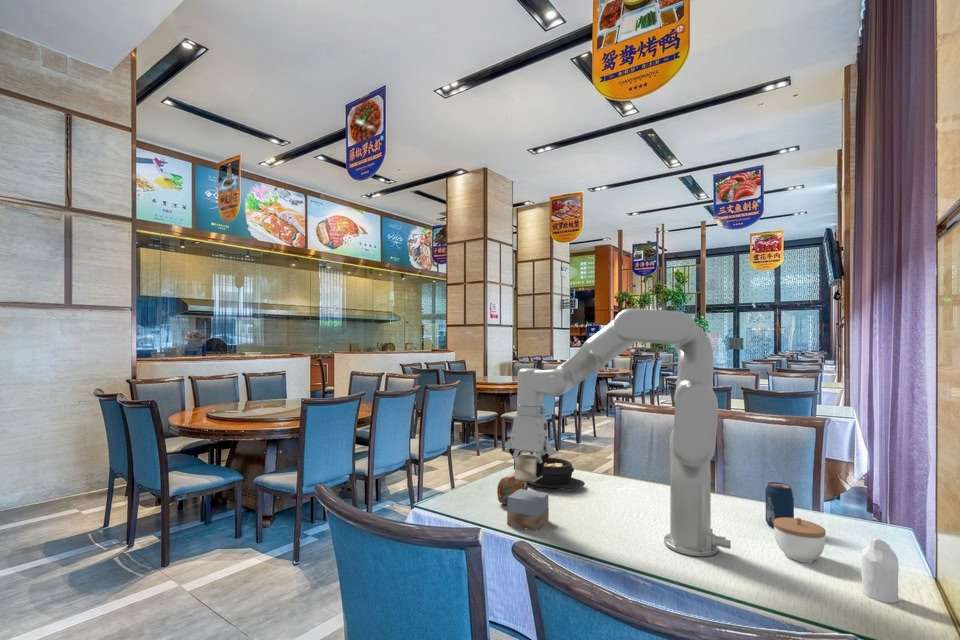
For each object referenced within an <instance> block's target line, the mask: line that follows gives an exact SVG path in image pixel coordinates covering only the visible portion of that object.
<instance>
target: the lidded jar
mask: <svg viewBox="0 0 960 640" xmlns="http://www.w3.org/2000/svg"><path fill="white" fill-rule="evenodd" d="M773 531H774V533H773V534H774V538H775V542H776V544H777V546H778V547H779V549H780V551H782V552H783V553H784V556H785V557H787V558H789V559H790V560H793V561H796V562H800V563H801V562H802V563H814V562H815V560H817V559H818V558H819V557H821V555H822V553H823V552H824V549H825V545H826V533H827V532H826V529H825V528H824V527H823V526H821V524H820V525H819V524H817V523H815V522H812V521H810V520H806V519H802V518H801V517H796V518H795V517H794V518H776V519H775V520H774V529H773Z"/></svg>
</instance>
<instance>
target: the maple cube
mask: <svg viewBox="0 0 960 640" xmlns="http://www.w3.org/2000/svg"><path fill="white" fill-rule="evenodd" d="M537 463H538V459H537V456H536V454H529V453H524V452H523V453H521V455H519V456H517V457H515V470H514V473H515V479H520V480H526V481H531V482H535V481H537V480H538V479H540V478H542V476H540V477H537V476H536V471H537Z"/></svg>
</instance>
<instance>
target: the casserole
mask: <svg viewBox="0 0 960 640" xmlns="http://www.w3.org/2000/svg"><path fill="white" fill-rule="evenodd" d="M574 470H575V469H574V467H573V465H572V463H571V462H570V461H568V460H566V459H561V458H558V457H557V458H556V457H549V458H548V459H547V460H546V461H544V473H543V474H542V478H540V479H538V480H537V481H535V482H531V481H528V484H531V485H532V486H536V487H537V488H540V487H541V489H544V488H546V490H561V489H562V488H563V490H575V489H580V488H582V487H584V486H585V482H584V480H582V479H578V478H574V477H572V475H573V473H574Z"/></svg>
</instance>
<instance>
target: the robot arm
mask: <svg viewBox="0 0 960 640" xmlns="http://www.w3.org/2000/svg"><path fill="white" fill-rule="evenodd" d="M636 343H649V344H660V345H672V346H674V348H675V350H676V352H677V373H676V374H677V377H676V385H675V386H676V387H675V390H674V391H675V393H674V394H673V395H674V397H673V401H674V417H673V429H672V430H671V432H670V435H669V450H670V451H669V456H670V457H669V458H670V481H669V482H670V483H669V484H670V492H669V493H670V498H669V499H670V502H669V503H670V509H669V510H670V514H669V515H670V518H669V519H670V520H669V521H670V522H669V523H670V531H669V533H668V534H665V536H664V537H663V543H664V544H665V546H666V547H667V548H668V549H670V550H672V551H674V552H677V553H679V554H683V555H686V556H693V557H711V556H715V554H717V553H718V547H720V548H721V547H722V548H725V549H732V546H731V545H732V544H731V543H732V542H731V540H729V539H727V538H726V537H725V536H720V535H719V536H718V535H716V534H715V533H714V532H713V531H714V530H713V528H711V527H712V526H711V524H712V522H711V520H712V519H711V518H712V517H711V515H712V513H711V509H712V508H711V506H712V505H711V500H712V499H711V495H712V494H711V493H712V492H711V488H712V487H711V486H712V483H711V481H712V475H711V474H712V473H711V471H712V470H711V460H712V459H713V458H714V455H715V451H716V444H717V443H716V442H717V432H718V419H719V418H718V417H719V402H718V401H719V400H718V397H717V395H716V393H715V391H714V390H713V383H714V350H713V346H712V342H711V340H710V338H709V337H708V335H707V334H706V332H705V331H704V330H703V329H702V328H701V327H700V325H698V324H697V323H696V322H695V320H694V319H693V317H692V316H691V315H690V314H688V313H686V312H683V311H679V310H663V309H662V310H660V309H659V310H658V309H645V308H624V309H622V310H621V311H620V312H618V313H617V314H616V315H615V318H614V319H612V320H611V321H610V322H608V324H606V325H605V326H604V327H603V328H601V329H600V330H599V331H597V332H595V334H593V335H592V336H590V337H589V338H588V339H587V340H585V341H584V342H583V344H582V345H581V347H580V348H579V349H578V350H577V352H575V353H574V354H573V355H572V356H570V357H569V358H568V359H566V360H565V361H564V362H563V363H561V364H560V365H559V366H558V367H557V368H553V369H552V368H551V369H545V370H542V369H540V368H532V367H531V368H529V367H528V368H527V367H524V368H523V367H522V368H520V369H519V370H518V371H517V392H516V393H517V397H516V398H517V400H516V401H517V403H516V414H515V415H514V418H513V422H512V428H511V437H510V438H509V439H508V440H507V441H506V442H505V443H504V445H503V446H504V447H505V448H506V450H507V451H508V453H509V455H511V457H512V459H513V470H514V471H515V457H517V456H519V455H521V454H522V452H529V453H535V455H536V456H537V459H538V463H537V471H536V476H537V477H540V476H542V474H543V473H544V461H546V460H547V459H548V458H551V456H552V455H554V453H556V449H555V448H554V447H553V446H552V444H551V443H550V442H549V429H548V421H547V417H546V416H544V414H548V411H549V410H548V408H545V406H544V395H545V396H550V397H559V396H561V395H563V394H565V393H568V392H569V391H571V390H572V389H573V388H575V386H577V385H578V384H580V383H582V382H583V381H584V380H585V379H586V378H588V377H589V376H591V375H592V374H594V373H595V372H596V371H598V370H600V369H603V368H604V367H605V366H606V365H608V364H609V363H610V362H611V361H613V360H614V359H616V358H617V357H618V356H620V355H621V354H622V353H624V352H625V351H626V350H628V349H629V348H631V346H632V347H633V345H635V344H636ZM545 451H547V452H545ZM544 452H545V454H544Z"/></svg>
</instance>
